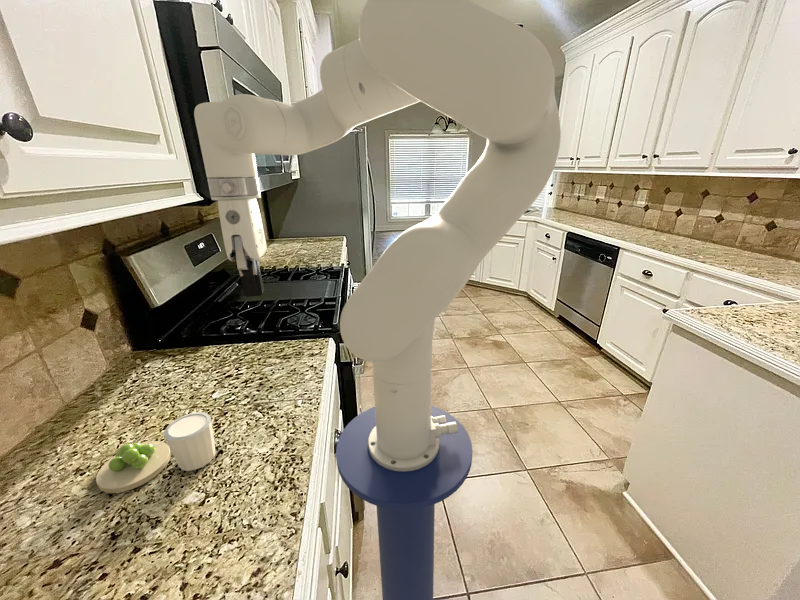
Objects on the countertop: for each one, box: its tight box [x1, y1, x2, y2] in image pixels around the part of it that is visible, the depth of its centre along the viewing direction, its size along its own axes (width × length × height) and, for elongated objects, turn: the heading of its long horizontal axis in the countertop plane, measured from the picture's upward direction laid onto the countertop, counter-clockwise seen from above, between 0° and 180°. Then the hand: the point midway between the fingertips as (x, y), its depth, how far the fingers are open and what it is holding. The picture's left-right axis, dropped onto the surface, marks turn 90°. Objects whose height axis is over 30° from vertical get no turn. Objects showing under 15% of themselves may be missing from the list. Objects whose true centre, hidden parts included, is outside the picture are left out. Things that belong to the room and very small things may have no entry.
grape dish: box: [95, 440, 172, 494], centre depth 57 cm, size 10×10×5 cm
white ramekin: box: [163, 411, 216, 472], centre depth 58 cm, size 7×7×7 cm
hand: (254, 294), depth 63 cm, fingers closed
